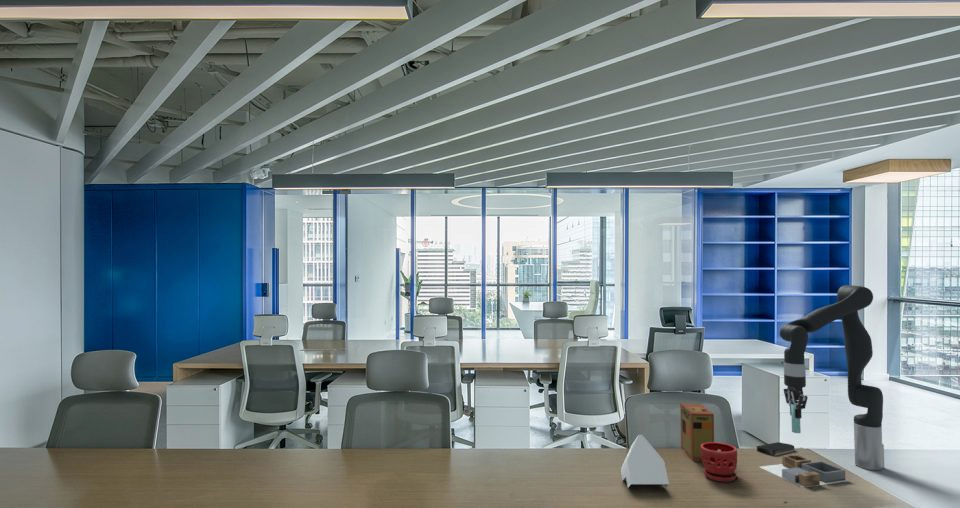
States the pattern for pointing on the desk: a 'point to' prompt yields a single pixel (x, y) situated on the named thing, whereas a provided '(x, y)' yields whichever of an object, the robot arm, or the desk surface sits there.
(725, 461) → the plant pot
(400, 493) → the desk surface
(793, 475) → the grey rectangular brick
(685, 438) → the box
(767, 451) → the black sponge
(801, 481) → the brown wooden block
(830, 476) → the tray
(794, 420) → the dowel
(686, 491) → the desk surface
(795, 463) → the socket
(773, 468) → the board
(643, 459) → the slotted wedge
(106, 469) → the desk surface
